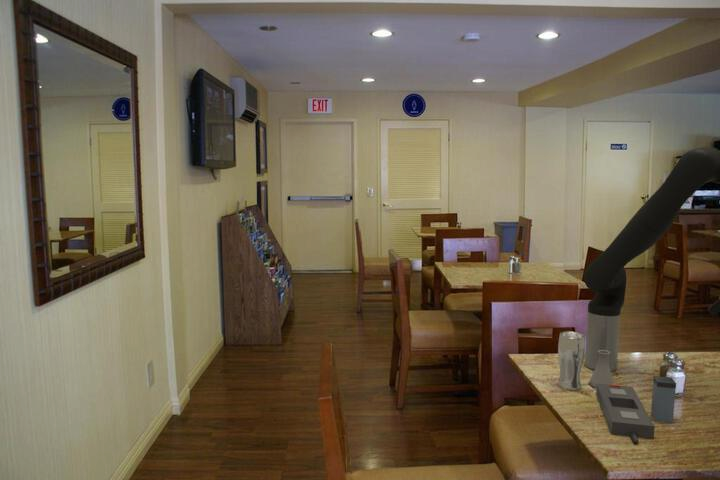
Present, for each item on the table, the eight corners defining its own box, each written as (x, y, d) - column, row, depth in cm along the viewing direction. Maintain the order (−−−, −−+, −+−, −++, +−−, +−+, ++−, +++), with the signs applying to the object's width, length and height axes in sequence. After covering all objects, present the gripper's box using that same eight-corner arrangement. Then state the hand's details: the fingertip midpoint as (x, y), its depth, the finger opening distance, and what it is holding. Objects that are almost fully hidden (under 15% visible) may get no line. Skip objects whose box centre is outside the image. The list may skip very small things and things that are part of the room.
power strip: (596, 393, 156) (596, 381, 156) (631, 397, 154) (632, 384, 153) (614, 442, 129) (615, 427, 129) (658, 447, 127) (659, 432, 126)
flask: (618, 391, 158) (620, 356, 157) (590, 389, 159) (592, 354, 158) (612, 381, 165) (614, 348, 164) (585, 379, 166) (587, 346, 165)
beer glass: (579, 392, 157) (582, 340, 155) (553, 387, 160) (556, 336, 158) (584, 384, 163) (587, 333, 161) (559, 379, 166) (562, 329, 164)
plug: (650, 414, 144) (653, 376, 142) (668, 415, 143) (671, 377, 141) (654, 421, 140) (657, 382, 138) (673, 423, 139) (676, 383, 137)
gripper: (751, 255, 140) (695, 298, 144) (777, 265, 126) (715, 312, 130) (774, 278, 139) (717, 320, 143) (803, 290, 125) (739, 336, 130)
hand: (716, 316), depth 137 cm, fingers open, 8 cm apart
